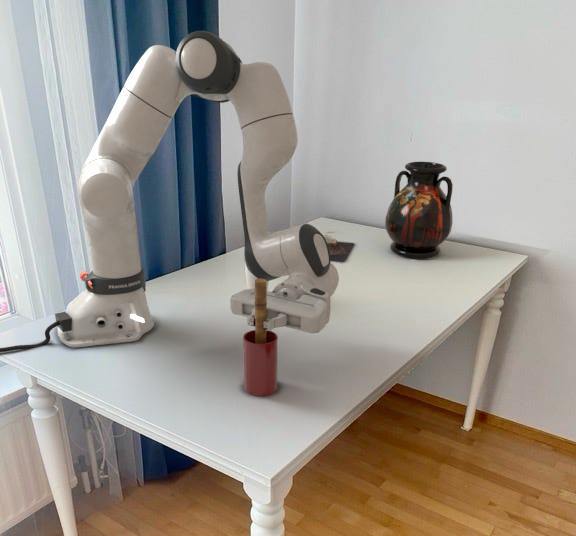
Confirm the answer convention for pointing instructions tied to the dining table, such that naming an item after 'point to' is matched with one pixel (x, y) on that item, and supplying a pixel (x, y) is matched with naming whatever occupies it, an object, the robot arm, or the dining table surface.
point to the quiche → (337, 249)
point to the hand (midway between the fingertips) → (258, 324)
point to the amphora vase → (420, 212)
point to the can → (260, 364)
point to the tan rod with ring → (260, 311)
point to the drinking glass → (250, 278)
